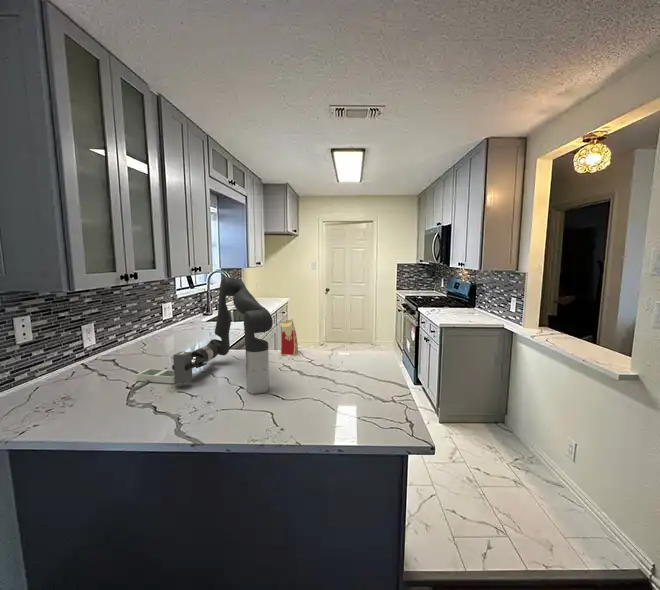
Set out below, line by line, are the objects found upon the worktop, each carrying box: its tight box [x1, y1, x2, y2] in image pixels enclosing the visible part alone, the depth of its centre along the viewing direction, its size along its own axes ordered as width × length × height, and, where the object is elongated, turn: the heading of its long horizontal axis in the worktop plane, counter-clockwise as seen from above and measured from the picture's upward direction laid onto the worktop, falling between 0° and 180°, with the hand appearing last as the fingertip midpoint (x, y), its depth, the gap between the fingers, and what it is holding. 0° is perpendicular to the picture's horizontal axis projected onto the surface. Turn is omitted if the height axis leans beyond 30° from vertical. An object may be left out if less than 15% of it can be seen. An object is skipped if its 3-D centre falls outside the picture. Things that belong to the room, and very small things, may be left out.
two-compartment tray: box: [132, 368, 176, 391], centre depth 147 cm, size 17×18×3 cm
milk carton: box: [280, 318, 299, 357], centre depth 190 cm, size 9×9×20 cm
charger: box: [172, 351, 193, 385], centre depth 142 cm, size 5×5×12 cm
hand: (179, 368), depth 140 cm, fingers closed on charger, 5 cm apart
